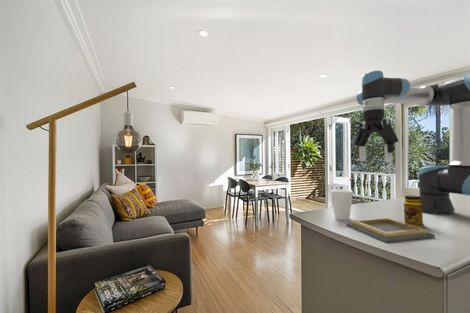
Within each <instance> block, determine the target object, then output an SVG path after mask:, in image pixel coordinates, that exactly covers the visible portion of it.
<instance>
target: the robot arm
mask: <svg viewBox="0 0 470 313" xmlns="http://www.w3.org/2000/svg"><path fill="white" fill-rule="evenodd" d="M361 77H362V78H361V90H360V91H358V92H357V93H356V97H355V98H356V102H357V103H358V104H359V105H360V106H362V110H363V112H362V120H363V121H364V122H365V123H360V124H359V125H358V126H359V128H358V132H357V135H356V138H355V142H354V146H357V147H358V154H359V157H358V158H359V162H367V146H366V143H367V142H368V139H369V138H370V136H371V135H372V134H373V133H375V134H376V133H377V134H379V136H380V138H381V139H382V140H383V142H384V163H385V162H388V163H389V162H393V161H394V160H393V153H394V144H396V143H398V142H399V139H398V136H397V134H396V132H395V130H394V129H393V126H392V124H391V119H389V118H385V104H417V105H419V106H428V107H429V106H431V107H432V106H435V107H437V106H439V107H441V106H449V108H450V109H452V110H453V116H452V117H453V119H452V120H453V121H452V122H453V123H452V124H453V125H452V160H451V161H450V162H449V163H448V164H446V165H445V164H443V165H430V166H422V167H420V168H419V170H418V185H419V186H418V187H419V191H418V192H419V195H418V196H420V197H421V203H422V213H423V214H424V213H425V214H432V215H444V216H445V215H448V216H449V215H455V213H456V208H455V207H454V203H453V202H452V200H451V197H450V195H451V194H456V195H457V194H458V195H463V196H470V73H467V74H465V75H461V76H458V77H454V78H451V79H448V80H445V81H441V82H438V83H435V84H432V85H422V86H421V87H411V83H410V81H409V80H408V79H406V78H402V77H397V78H396V77H385V76H384V73H383V71H381V70H371V71H368V72H366V73H364V74H363V75H362V76H361Z"/></svg>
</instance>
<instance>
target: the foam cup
mask: <svg viewBox="0 0 470 313" xmlns="http://www.w3.org/2000/svg"><path fill="white" fill-rule="evenodd" d="M353 194H354V193H353V190H352V189H346V188H345V189H343V188H336V189H335V188H334V189H331V190H330V196H331V201H332V208H333V214H334V218H335V219H336V220H339V221H347V220H350V218H351V209H352V202H353Z"/></svg>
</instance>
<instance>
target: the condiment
mask: <svg viewBox="0 0 470 313" xmlns="http://www.w3.org/2000/svg"><path fill="white" fill-rule="evenodd" d="M403 212H404V214H403V216H404V218H403V219H404V220H401V222H405V223H407V224H410V225H413V226H417V227H420V228H427V226H426V225H425V224H424V222H423V221H424V220H423V212H422V203H421V197H420V196H419V195H411V194H409V195H405V196H404V202H403Z"/></svg>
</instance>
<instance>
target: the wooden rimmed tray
mask: <svg viewBox="0 0 470 313" xmlns="http://www.w3.org/2000/svg"><path fill="white" fill-rule="evenodd" d="M345 226H346V227H347V228H350V229H353V230H355V231H358V232H360V233H362V234H365V235H367V236H369V237H371V238H374V239H376V240H379V241H381V242H384V243H386V244H387V243H397V242H405V241H406V242H407V241H414V240H415V241H416V240H424V239H435V238H436V235H435V234H434V233H430V232H428V229H427V228H424V227H417V226H413V225H410V224H407V223H403V222H402V221H401V220H400V221H399V220H396V219H393V218H389V217H380V218H379V217H378V218H368V219H367V218H366V219H365V218H364V219H357V220H356V219H355V220H354V219H353V220H351V222H349V223H346V224H345Z"/></svg>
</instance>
